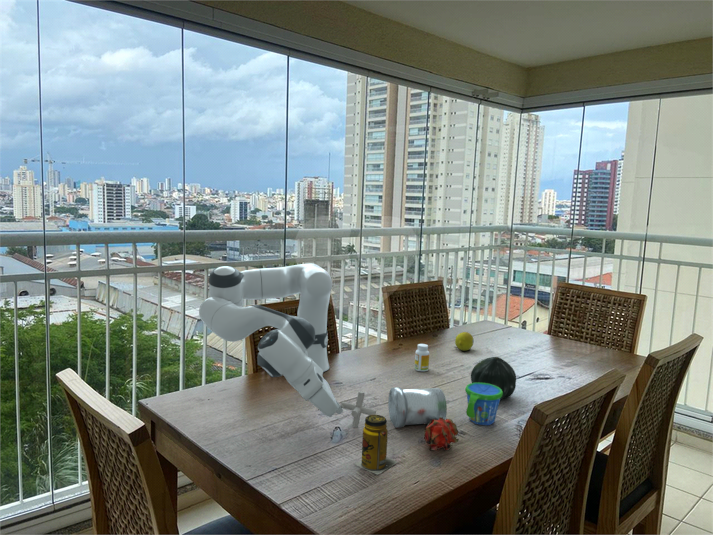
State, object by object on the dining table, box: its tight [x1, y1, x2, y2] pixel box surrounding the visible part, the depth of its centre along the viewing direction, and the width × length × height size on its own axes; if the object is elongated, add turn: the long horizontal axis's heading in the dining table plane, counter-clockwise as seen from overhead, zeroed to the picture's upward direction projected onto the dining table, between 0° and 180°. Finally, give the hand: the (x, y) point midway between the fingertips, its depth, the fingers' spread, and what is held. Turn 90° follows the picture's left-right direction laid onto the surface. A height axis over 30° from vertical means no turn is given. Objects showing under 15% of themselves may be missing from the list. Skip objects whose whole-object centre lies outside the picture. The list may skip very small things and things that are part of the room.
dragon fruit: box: [423, 417, 460, 452], centre depth 139 cm, size 8×8×12 cm
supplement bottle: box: [414, 343, 430, 372], centre depth 202 cm, size 5×5×10 cm
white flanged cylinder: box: [387, 387, 448, 429], centre depth 153 cm, size 14×13×11 cm
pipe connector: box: [340, 390, 377, 428], centre depth 149 cm, size 10×10×10 cm
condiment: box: [354, 414, 398, 476], centre depth 128 cm, size 7×8×12 cm
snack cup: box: [465, 382, 503, 426], centre depth 157 cm, size 16×10×10 cm
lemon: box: [454, 331, 474, 352], centre depth 232 cm, size 11×8×8 cm
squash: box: [470, 356, 517, 401], centre depth 178 cm, size 14×15×15 cm
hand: (340, 411), depth 147 cm, fingers closed
